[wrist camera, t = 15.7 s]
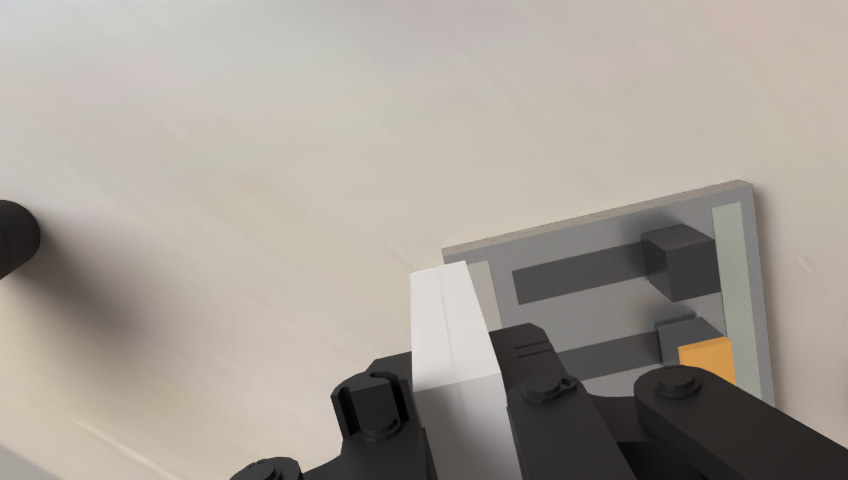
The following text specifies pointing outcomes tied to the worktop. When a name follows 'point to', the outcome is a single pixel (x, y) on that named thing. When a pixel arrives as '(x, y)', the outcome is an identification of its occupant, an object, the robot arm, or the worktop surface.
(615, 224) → the panel
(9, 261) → the drinking cup
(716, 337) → the block
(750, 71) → the worktop surface
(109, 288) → the worktop surface
